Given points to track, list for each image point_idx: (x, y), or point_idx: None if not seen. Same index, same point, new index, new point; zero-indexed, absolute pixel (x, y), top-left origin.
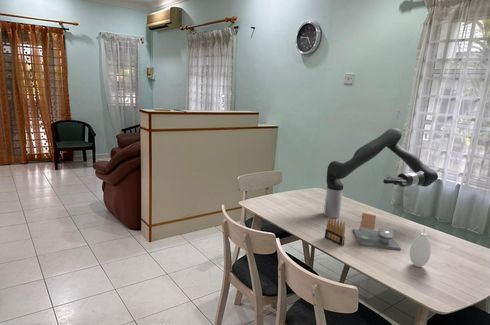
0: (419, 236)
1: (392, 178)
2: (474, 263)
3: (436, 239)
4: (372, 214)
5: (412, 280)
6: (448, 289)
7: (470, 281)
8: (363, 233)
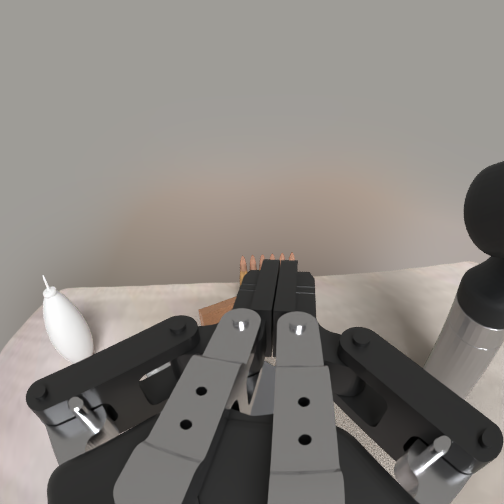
0: (59, 292)
1: (278, 364)
2: None
3: None
4: (215, 309)
5: (88, 313)
6: (42, 329)
7: (7, 373)
8: (258, 385)
